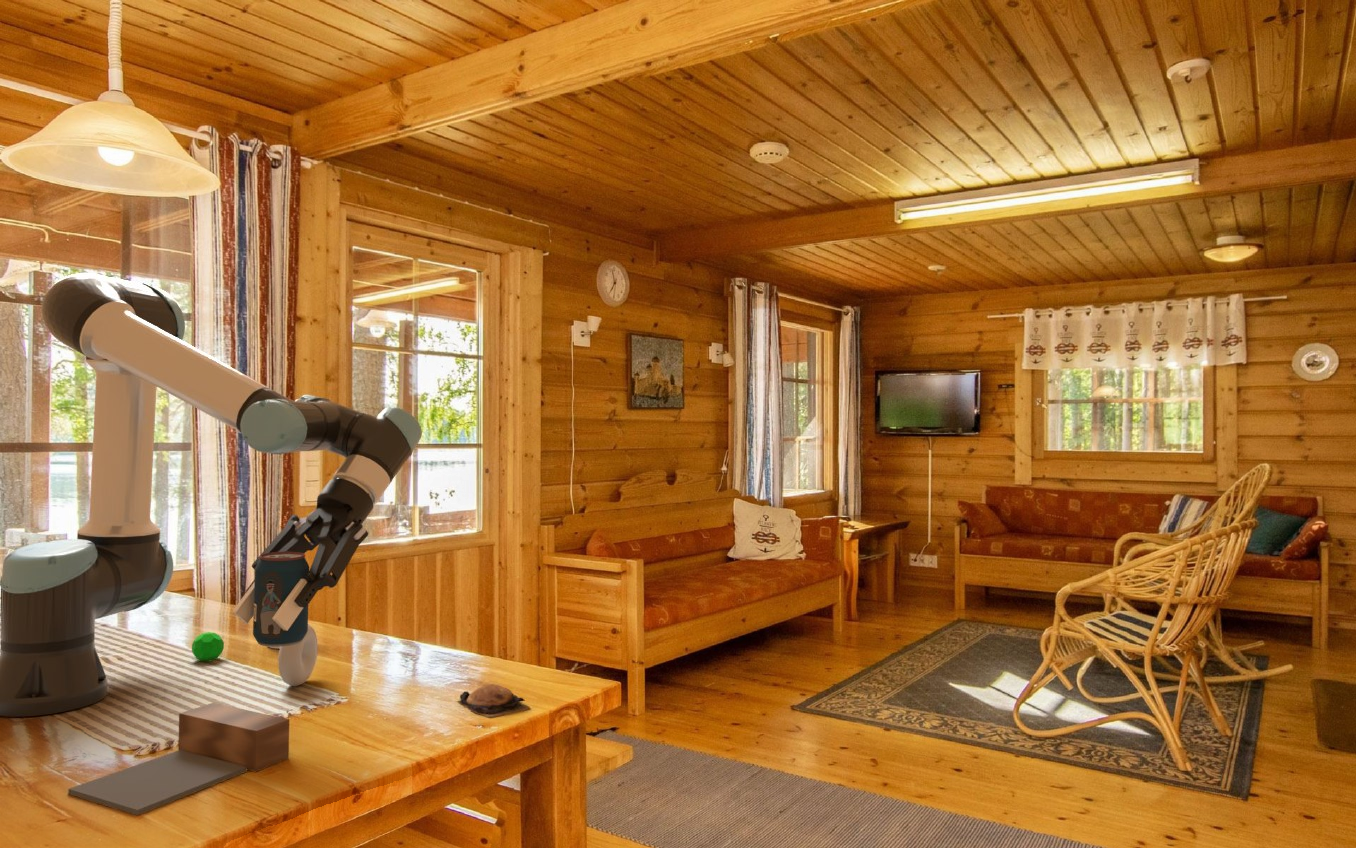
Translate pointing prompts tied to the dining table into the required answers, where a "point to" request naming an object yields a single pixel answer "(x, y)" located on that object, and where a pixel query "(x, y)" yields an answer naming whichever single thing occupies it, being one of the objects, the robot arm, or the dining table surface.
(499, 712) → the brown domed piece
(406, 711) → the dining table surface
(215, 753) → the walnut block
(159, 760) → the charcoal mat
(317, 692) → the dining table surface
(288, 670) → the donut
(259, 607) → the soda can
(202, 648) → the polyhedron
